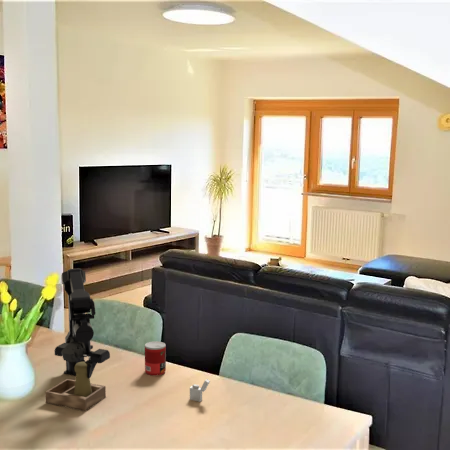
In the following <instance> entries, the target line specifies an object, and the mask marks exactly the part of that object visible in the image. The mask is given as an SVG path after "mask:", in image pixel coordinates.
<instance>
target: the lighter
mask: <svg viewBox="0 0 450 450" xmlns="http://www.w3.org/2000/svg"><path fill="white" fill-rule="evenodd" d="M210 382H211V380H210V379H209V378H206V379H205V380H204V381H203V384H202V385H201V387H200V384H195V383H194V384H192V385H191V386H190V387H189V401H195V402H202V401H203V393H204V392H206V391H207V388H208V386H209V384H210Z"/></svg>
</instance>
